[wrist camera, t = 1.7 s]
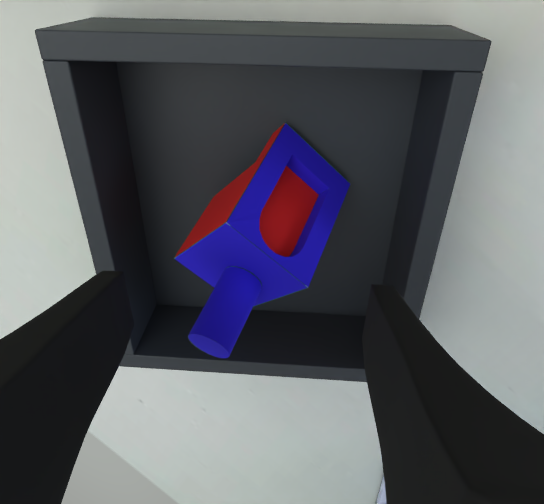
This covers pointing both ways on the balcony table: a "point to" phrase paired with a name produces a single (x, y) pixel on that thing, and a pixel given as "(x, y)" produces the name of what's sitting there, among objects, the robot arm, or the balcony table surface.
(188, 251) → the toy building block
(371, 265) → the tote
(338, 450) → the balcony table surface
